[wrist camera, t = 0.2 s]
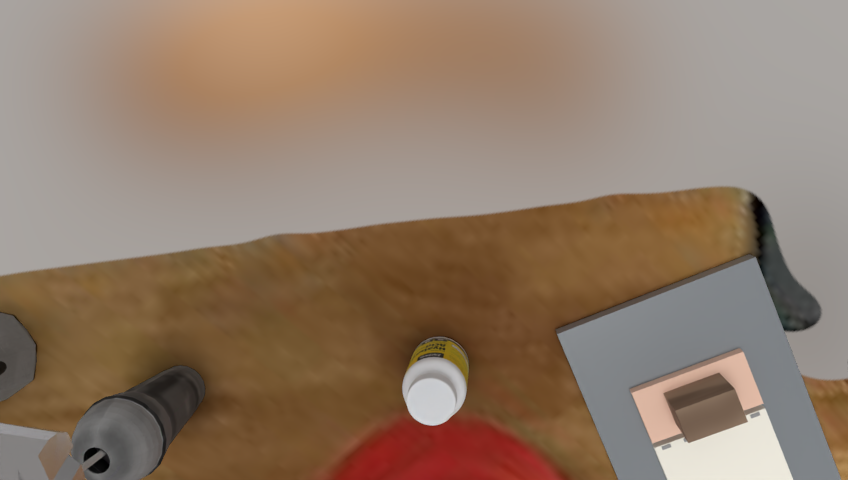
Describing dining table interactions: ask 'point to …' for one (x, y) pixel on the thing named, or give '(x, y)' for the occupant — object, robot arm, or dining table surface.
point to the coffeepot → (15, 356)
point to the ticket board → (688, 345)
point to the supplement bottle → (436, 380)
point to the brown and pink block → (698, 398)
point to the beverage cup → (136, 425)
